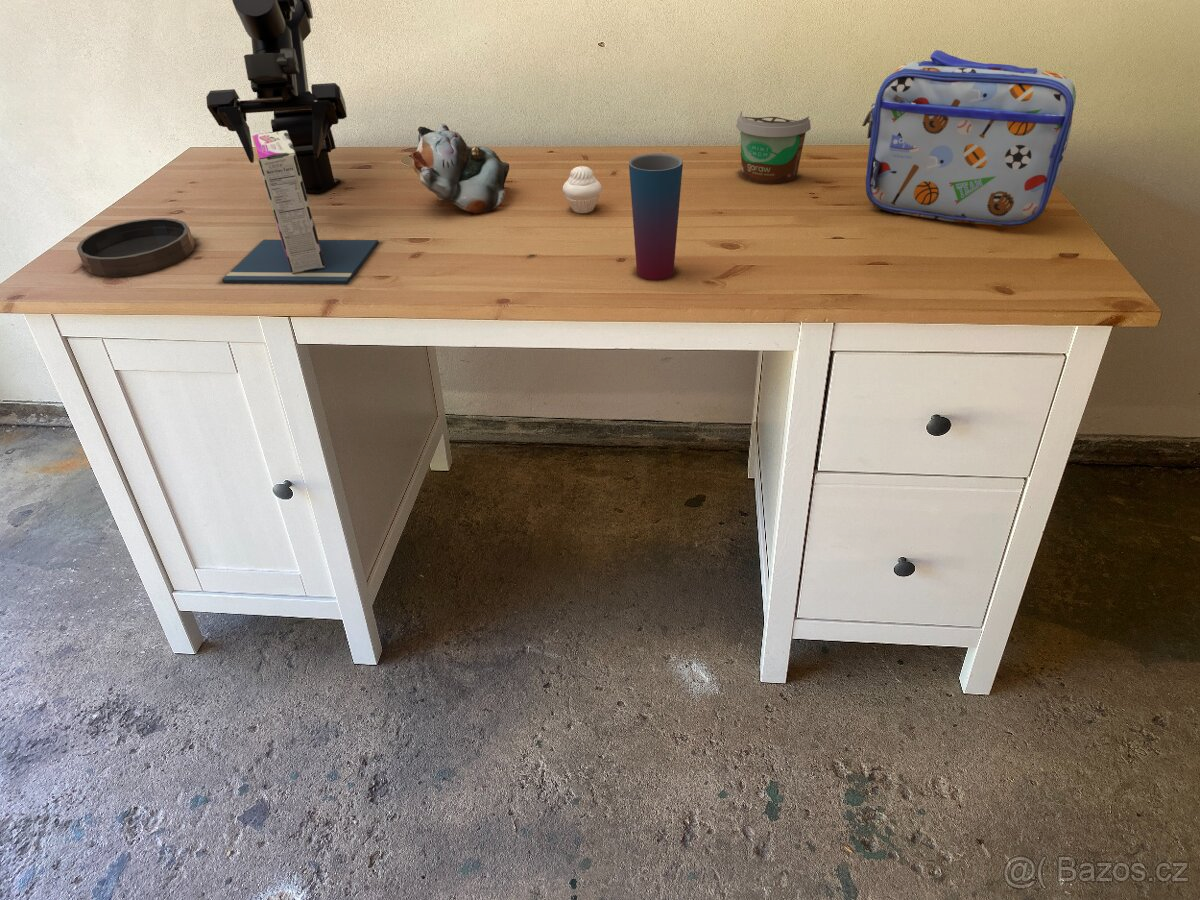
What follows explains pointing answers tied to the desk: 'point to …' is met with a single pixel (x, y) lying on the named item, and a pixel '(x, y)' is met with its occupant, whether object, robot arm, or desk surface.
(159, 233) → the pan
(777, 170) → the food container
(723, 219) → the desk surface
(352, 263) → the notebook
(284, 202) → the candy bar box
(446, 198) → the lucky cat figurine
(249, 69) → the robot arm
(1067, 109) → the lunch box
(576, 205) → the muffin
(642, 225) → the cup
